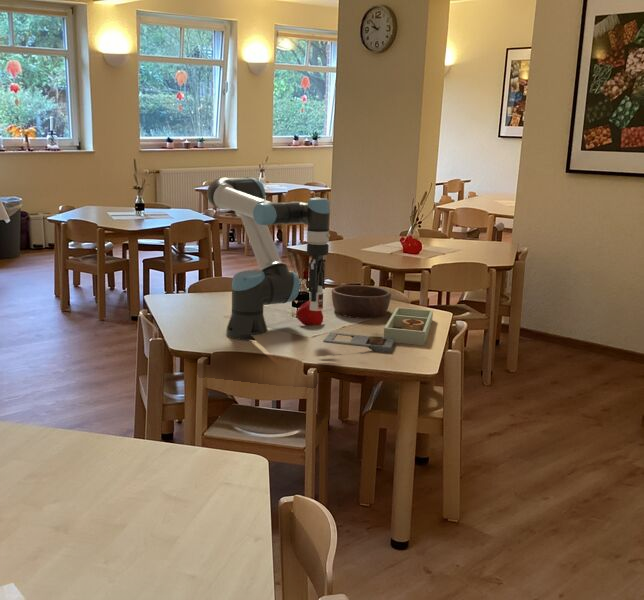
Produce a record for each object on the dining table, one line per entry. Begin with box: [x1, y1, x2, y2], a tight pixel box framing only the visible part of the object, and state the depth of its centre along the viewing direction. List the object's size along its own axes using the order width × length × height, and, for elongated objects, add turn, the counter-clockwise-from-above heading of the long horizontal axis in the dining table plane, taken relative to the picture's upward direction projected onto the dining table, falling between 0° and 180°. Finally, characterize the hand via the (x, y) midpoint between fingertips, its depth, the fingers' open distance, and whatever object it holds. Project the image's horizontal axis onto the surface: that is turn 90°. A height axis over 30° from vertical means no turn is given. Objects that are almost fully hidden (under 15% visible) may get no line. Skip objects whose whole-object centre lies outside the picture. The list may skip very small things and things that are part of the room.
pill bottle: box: [309, 286, 324, 311], centre depth 264 cm, size 5×5×8 cm
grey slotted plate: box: [323, 332, 396, 354], centre depth 269 cm, size 24×12×2 cm, turn 77°
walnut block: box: [369, 332, 384, 346], centre depth 268 cm, size 4×4×4 cm
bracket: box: [401, 319, 424, 331], centre depth 296 cm, size 18×8×7 cm, turn 169°
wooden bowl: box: [331, 284, 392, 319], centre depth 316 cm, size 25×25×10 cm
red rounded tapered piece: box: [296, 300, 324, 327], centre depth 289 cm, size 10×10×11 cm
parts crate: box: [383, 306, 434, 346], centre depth 292 cm, size 15×37×5 cm, turn 167°
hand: (316, 308), depth 264 cm, fingers closed on pill bottle, 5 cm apart
